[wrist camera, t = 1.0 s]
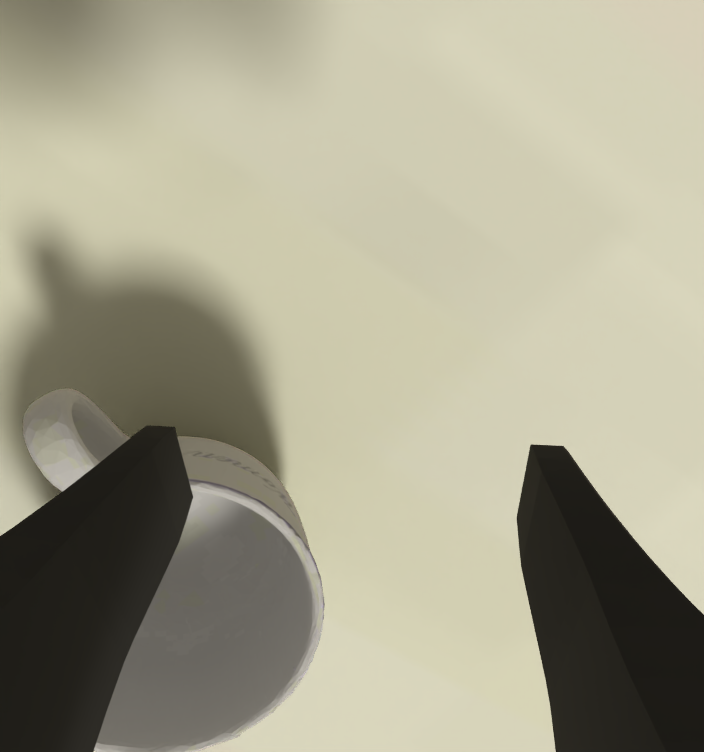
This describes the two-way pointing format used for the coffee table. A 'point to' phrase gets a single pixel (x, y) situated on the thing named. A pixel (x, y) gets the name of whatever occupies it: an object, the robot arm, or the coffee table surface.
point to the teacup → (200, 590)
